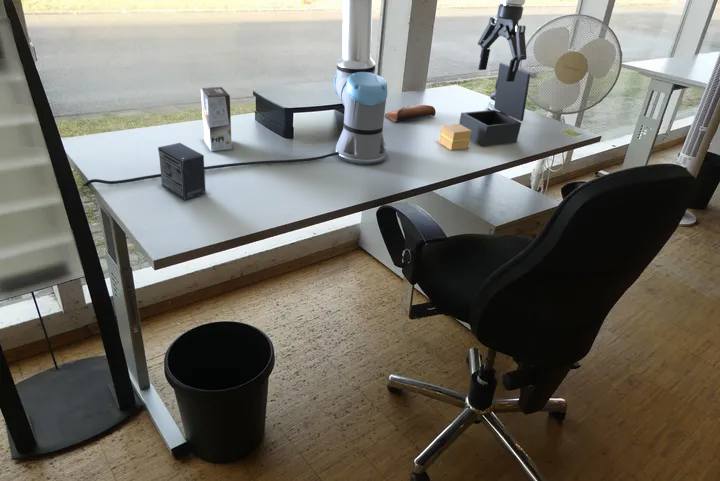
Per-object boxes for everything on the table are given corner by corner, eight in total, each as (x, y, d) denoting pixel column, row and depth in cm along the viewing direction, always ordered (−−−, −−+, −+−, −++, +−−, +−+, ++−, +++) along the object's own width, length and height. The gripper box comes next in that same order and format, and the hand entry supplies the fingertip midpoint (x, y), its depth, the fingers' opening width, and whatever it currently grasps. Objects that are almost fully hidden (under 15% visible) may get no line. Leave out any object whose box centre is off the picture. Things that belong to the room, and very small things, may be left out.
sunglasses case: (421, 109, 210) (429, 97, 205) (429, 123, 208) (438, 111, 202) (383, 114, 201) (390, 101, 195) (391, 129, 198) (399, 116, 193)
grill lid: (528, 74, 176) (545, 70, 179) (499, 63, 186) (516, 59, 189) (520, 121, 185) (537, 117, 188) (493, 108, 195) (510, 104, 198)
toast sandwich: (451, 150, 177) (454, 132, 174) (438, 142, 182) (441, 125, 179) (468, 148, 180) (471, 130, 177) (455, 140, 185) (458, 123, 182)
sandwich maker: (482, 146, 183) (487, 126, 179) (457, 132, 193) (461, 112, 189) (516, 142, 189) (521, 122, 186) (490, 128, 200) (494, 109, 196)
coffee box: (232, 149, 162) (230, 95, 153) (210, 151, 159) (207, 96, 151) (224, 138, 169) (222, 86, 160) (203, 140, 166) (199, 87, 157)
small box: (207, 194, 136) (205, 154, 131) (184, 201, 132) (181, 161, 127) (183, 179, 142) (180, 141, 137) (160, 186, 138) (156, 146, 132)
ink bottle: (483, 107, 221) (490, 77, 215) (504, 108, 223) (510, 78, 217) (492, 115, 213) (499, 84, 207) (513, 116, 215) (521, 85, 209)
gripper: (550, 12, 159) (531, 85, 170) (493, -3, 177) (480, 64, 188) (531, 12, 155) (513, 86, 166) (475, -3, 174) (462, 65, 184)
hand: (495, 75), depth 177 cm, fingers open, 13 cm apart
